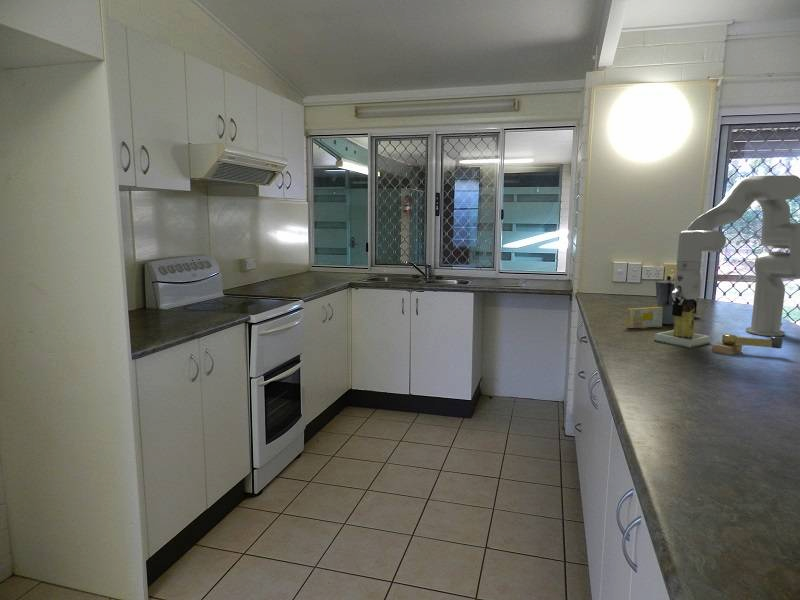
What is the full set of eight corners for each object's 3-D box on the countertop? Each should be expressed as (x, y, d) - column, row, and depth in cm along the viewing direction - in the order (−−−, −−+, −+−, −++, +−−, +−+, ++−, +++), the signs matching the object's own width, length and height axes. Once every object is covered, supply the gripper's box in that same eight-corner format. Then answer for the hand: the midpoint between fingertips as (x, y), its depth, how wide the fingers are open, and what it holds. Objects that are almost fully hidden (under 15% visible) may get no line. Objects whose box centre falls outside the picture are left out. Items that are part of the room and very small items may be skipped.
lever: (722, 343, 178) (723, 334, 178) (721, 341, 182) (722, 331, 182) (782, 349, 172) (784, 339, 171) (780, 346, 175) (781, 336, 175)
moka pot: (675, 321, 233) (679, 275, 230) (680, 327, 219) (685, 278, 216) (650, 319, 236) (654, 274, 234) (655, 326, 222) (659, 277, 219)
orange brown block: (723, 348, 184) (724, 340, 184) (741, 351, 179) (742, 344, 179) (711, 351, 179) (712, 343, 179) (729, 355, 175) (730, 347, 174)
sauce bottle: (694, 342, 190) (699, 286, 187) (675, 341, 191) (680, 285, 188) (688, 338, 196) (693, 284, 193) (670, 337, 197) (674, 283, 194)
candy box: (658, 326, 222) (659, 306, 221) (662, 327, 220) (663, 307, 219) (625, 328, 217) (627, 308, 216) (629, 329, 215) (631, 309, 214)
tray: (673, 336, 202) (673, 329, 202) (709, 343, 192) (710, 336, 191) (654, 340, 195) (654, 333, 195) (690, 347, 184) (691, 340, 184)
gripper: (686, 268, 181) (681, 318, 184) (711, 266, 191) (707, 313, 194) (664, 266, 188) (660, 315, 190) (690, 264, 197) (686, 310, 200)
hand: (684, 314), depth 192 cm, fingers open, 9 cm apart
